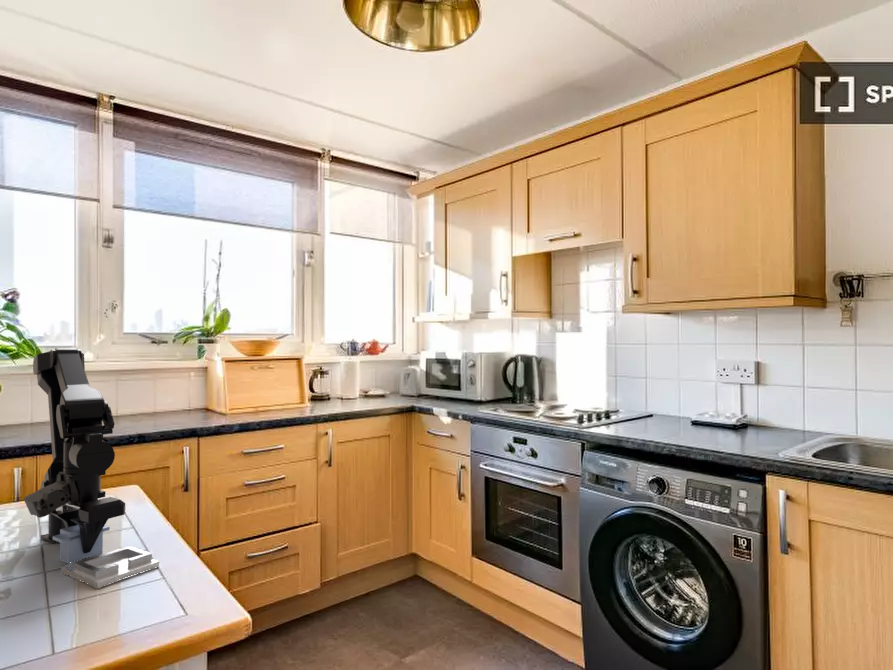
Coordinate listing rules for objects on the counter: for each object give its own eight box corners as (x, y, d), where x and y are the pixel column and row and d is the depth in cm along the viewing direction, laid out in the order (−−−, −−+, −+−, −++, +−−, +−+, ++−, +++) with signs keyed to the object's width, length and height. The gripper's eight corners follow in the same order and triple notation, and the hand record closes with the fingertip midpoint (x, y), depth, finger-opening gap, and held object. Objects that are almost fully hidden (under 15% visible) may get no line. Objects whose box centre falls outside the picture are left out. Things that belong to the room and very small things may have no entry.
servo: (61, 566, 96) (61, 529, 97) (52, 562, 98) (52, 526, 98) (109, 551, 103) (109, 517, 103) (99, 548, 105) (100, 514, 105)
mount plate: (61, 572, 93) (61, 559, 94) (121, 553, 102) (121, 541, 102) (97, 588, 87) (97, 574, 87) (158, 567, 96) (158, 554, 96)
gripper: (7, 467, 99) (6, 555, 99) (57, 481, 89) (56, 577, 89) (75, 457, 109) (74, 536, 108) (127, 467, 99) (126, 555, 99)
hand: (81, 550), depth 101 cm, fingers closed on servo, 3 cm apart
